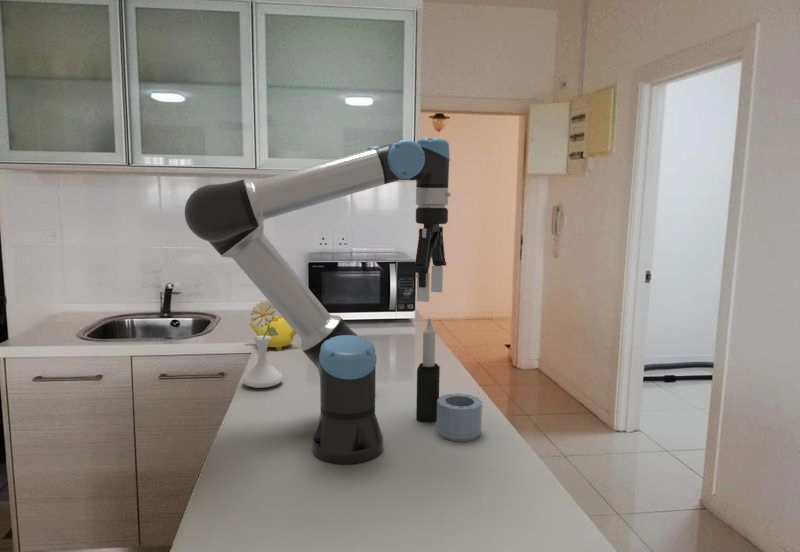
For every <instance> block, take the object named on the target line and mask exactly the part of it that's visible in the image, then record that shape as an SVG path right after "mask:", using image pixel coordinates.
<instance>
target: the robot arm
mask: <svg viewBox="0 0 800 552" xmlns="http://www.w3.org/2000/svg"><path fill="white" fill-rule="evenodd" d="M450 160H451V158H450V144H449V142H448V140H447V139H443V138H440V137H439V138H438V137H437V138H436V137H433V138H430V137H429V138H428V137H425V138H420V139H418V140H417V142H416V141H414V140H411V139H405V138H403V139H400V140H396V141H394V142H392V143H389V144H385V145H375V146H374V145H372V146H371V145H370V146H368V147H367V148H366V149H365V150H364V151H361V152H357V153H354V154H353V153H351V154H349V155H345V156H341V157H339V158H335V159H332V160H331V159H330V160H328V161H327V160H326V161H324V162H321V163H317V164H314V165H309V166H305V167H303V168H299V169H295V170H292V171H289V172H285V173H281V174H277V175H274V176H271V177H265V178H263V179H260V180H255V181H250V180H248V179H247V178H244V179H241V180H236V181H232V182H227V183H225V182H224V183H218V184H217V183H215V184H214V183H213V184H206V185H204V186H200V187H199V188H197V189H196V190H194V191H193V192H192V193H191V194H190V196H189V197H188V198H187V200H186V201H185V202H186V203H185V206H184V218H185V222H186V225H187V227H188V228H189V230H190V231H191V232H192V233H193V235H195V236H197V238H199V239H202V240H204V241H207V242H209V244H210V245H211V246H212V247H213V248H214V249H215V251H216V252H217V253H218V254H219V255H220V256H221V257H222V258H230V259H233V261H234V262H235V263H236V264H237V266H238V267H239V268H240V269H241V270H242V271H243V273H244V274H245V275H246V276H247V277H248V279H250V281H251V282H252V283H253V284H254V285H255V286H256V288H257V289H258V290H259V292H261V293H262V294H263V296H264V297H265V298H266V300H268V301H269V302H270V303H271V304H272V305H273V306H274V307H275V309H276V312H278V313H279V314H280V316H281V317H283V318H284V319H285V320H286V321H287V323H288V324H289V326H290V327H291V329H292V330H294V331H295V332H296V333H297V334H296V335H298V337H299V338H300V340H301V341H300V349H301V351H302V352H303V354H305V355H306V357H308V359H309V360H310V361H311V362H312V364H314V366H315V367H316V369H317V371H318V375H319V382H320V386H319V389H320V395H319V396H320V397H319V398H320V400H319V401H320V407H319V408H320V413H319V418H318V421H317V423H316V426H315V430H314V434H313V435H312V436H313V437H312V441H311V443H312V449H311V450H312V453H313V454H314V455H315V456H316V458H319V459H320V460H322V461H325V462H328V463H332V464H341V465H342V464H343V465H346V464H347V465H349V464H350V465H352V464H358V463H364V462H368V461H370V460H372V459H375V458H377V457H378V456H379V455H380V454H381V453H382V452H383V450H384V436H383V433H382V430H381V427H380V423H379V421H378V418H377V414H376V367H377V353H376V347H375V345H374V343H373V342H372V341H371V340H369V339H367V338H366V337H365V338H362V336H359V335H358V334H357V333H356V332H355V331H353V330H352V329H351V328H350V326H349V325H348V324H347V322H345V320H344V319H343V318H342V317H341V316H340V315H337V314H336V315H334V314H330V313H329V312H328V310H327V308H325V307H324V305H323V304H322V303H321V301H320V300H319V299H318V298H317V297H316V295H315V294H314V293H313V292H312V291H311V290H310V288H309V287H308V286H307V285H306V284H305V282H304V281H303V280H302V279H301V278H300V276H299V275H298V274H297V273H296V272H295V270H294V269H293V268H292V267H291V265H290V264H289V263H288V262H287V261H286V260H285V258H284V257H283V255H281V253H280V252H279V251H278V250H277V249H276V247H275V246H274V245H273V243H271V241H270V240H269V239H268V238H267V236H266V235H265V234H264V233H265V232H264V227H265V223H264V221H265V220H267V219H271V218H274V217H278V216H280V215H284V214H288V213H291V212H294V211H298V210H303V209H305V208H308V207H311V206H315V205H318V204H322V203H326V202H330V201H332V200H335V199H339V198H343V197H347V196H349V195H353V194H356V193H359V192H363V191H367V190H370V189H372V188H374V189H375V188H376V187H380V186H384V185H389V184H392V183H394V182H399V181H412V182H413V181H415V183H416V185H415V187H416V188H415V205H417V206H418V207H416V209H415V222H416V224H420V225H423V228H418V229H419V230H418V240H417V248H416V257H415V262H414V268H413V270H412V271H413V273H414V274H415V273H416V302H425V303H429V302H430V292H431V293H443V282H444V281H443V280H444V279H443V277H444V267H445V266H447V261H446V258H445V257H446V255H445V245H444V244H445V243H444V227H443V226H440V225H446V224H447V223H448V222H449V221H448V220H449V209H448V207H446V206H448V205H449V198H450V197H451V192H449V175H450V173H449V172H450ZM431 261H432V265H431V276H430V272H429V270H430V264H431ZM430 279H431V281H430ZM430 283H431V284H430ZM430 285H431V286H430ZM430 289H431V290H430Z"/></svg>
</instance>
